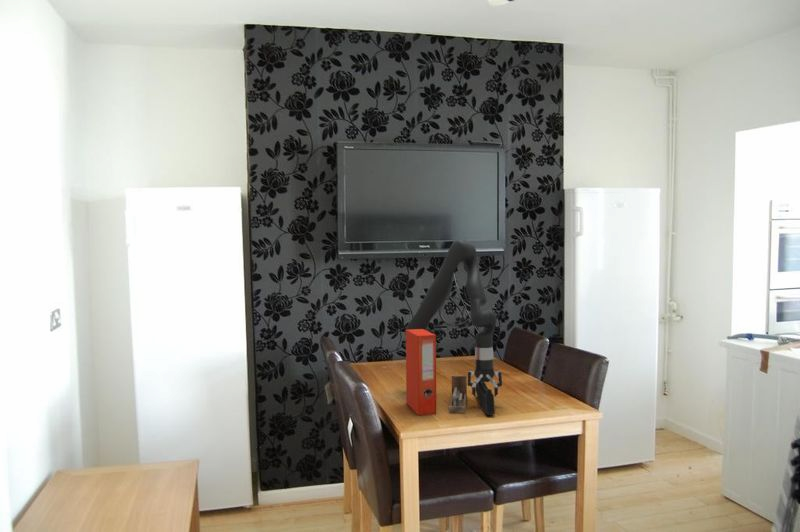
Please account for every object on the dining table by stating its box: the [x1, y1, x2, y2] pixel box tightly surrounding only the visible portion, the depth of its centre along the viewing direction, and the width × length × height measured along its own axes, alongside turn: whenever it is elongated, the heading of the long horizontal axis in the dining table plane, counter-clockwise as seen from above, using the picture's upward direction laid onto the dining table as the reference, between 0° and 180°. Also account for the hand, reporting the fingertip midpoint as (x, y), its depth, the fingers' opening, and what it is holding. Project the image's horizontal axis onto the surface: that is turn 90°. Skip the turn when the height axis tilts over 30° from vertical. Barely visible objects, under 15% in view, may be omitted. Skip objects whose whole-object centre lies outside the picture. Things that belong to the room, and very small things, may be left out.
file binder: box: [405, 329, 437, 416], centre depth 236 cm, size 8×17×32 cm, turn 15°
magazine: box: [475, 381, 496, 415], centre depth 237 cm, size 17×3×30 cm
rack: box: [448, 375, 468, 414], centre depth 240 cm, size 6×22×10 cm, turn 172°
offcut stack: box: [453, 388, 464, 407], centre depth 240 cm, size 3×14×6 cm, turn 172°
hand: (484, 395), depth 238 cm, fingers open, 8 cm apart
